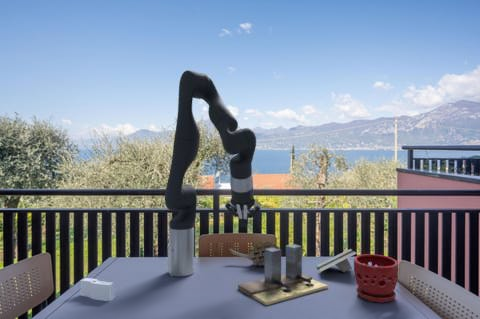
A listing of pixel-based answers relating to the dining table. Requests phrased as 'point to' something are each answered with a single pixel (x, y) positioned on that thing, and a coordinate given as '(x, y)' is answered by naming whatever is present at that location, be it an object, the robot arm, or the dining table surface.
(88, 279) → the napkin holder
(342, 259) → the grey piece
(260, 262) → the pine cone
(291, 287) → the bolt plate
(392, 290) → the plant pot
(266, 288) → the base
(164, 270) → the dining table surface
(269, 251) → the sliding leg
